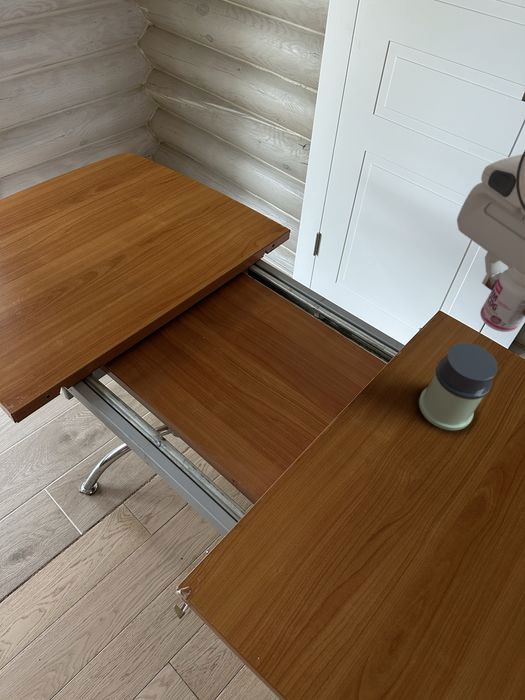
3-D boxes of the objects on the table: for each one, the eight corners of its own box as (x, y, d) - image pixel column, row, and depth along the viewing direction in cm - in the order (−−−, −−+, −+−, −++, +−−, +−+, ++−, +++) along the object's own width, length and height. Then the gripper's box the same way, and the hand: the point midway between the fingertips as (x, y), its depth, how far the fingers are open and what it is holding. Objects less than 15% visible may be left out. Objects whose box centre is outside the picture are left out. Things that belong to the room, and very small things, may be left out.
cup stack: (483, 416, 85) (515, 369, 76) (445, 439, 81) (474, 393, 72) (444, 379, 90) (470, 331, 81) (407, 399, 86) (430, 351, 77)
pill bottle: (471, 311, 65) (499, 257, 59) (500, 302, 66) (531, 250, 60) (496, 337, 62) (529, 284, 56) (526, 328, 64) (561, 275, 57)
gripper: (686, 248, 47) (600, 348, 58) (511, 148, 58) (465, 247, 69) (650, 269, 45) (567, 369, 55) (473, 159, 56) (431, 260, 66)
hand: (509, 300), depth 62 cm, fingers closed on pill bottle, 5 cm apart
